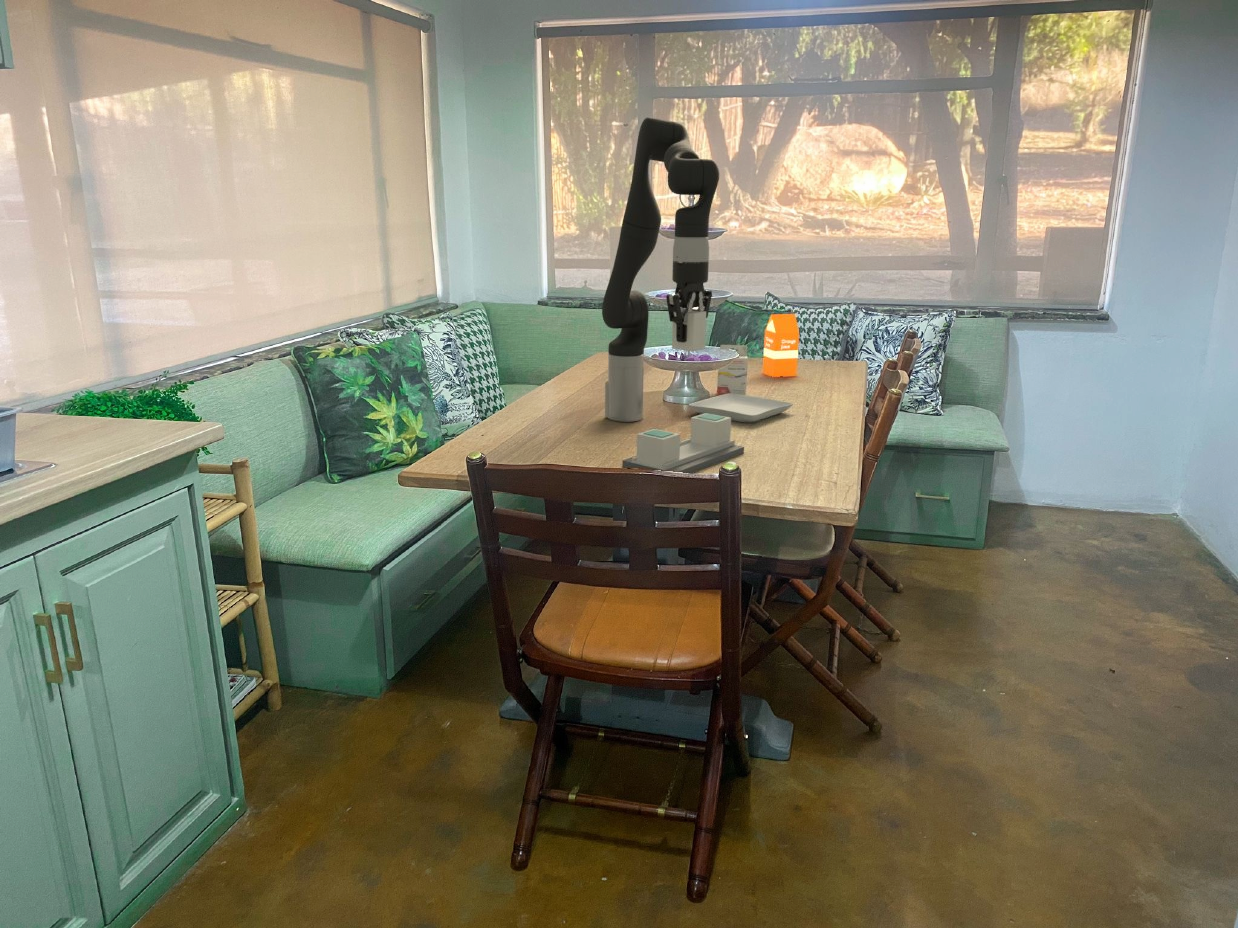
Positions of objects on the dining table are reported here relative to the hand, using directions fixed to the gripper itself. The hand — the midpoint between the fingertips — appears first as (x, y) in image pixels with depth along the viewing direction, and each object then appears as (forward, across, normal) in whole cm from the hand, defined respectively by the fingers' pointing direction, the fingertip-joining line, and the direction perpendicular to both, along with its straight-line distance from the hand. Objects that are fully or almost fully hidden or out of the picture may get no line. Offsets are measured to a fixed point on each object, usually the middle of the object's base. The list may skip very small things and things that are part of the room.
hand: (688, 340), depth 193 cm
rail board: (+27, 0, 0) cm, 27 cm away
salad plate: (+28, -47, -15) cm, 56 cm away
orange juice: (+27, -105, -36) cm, 114 cm away
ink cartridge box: (+27, -66, -30) cm, 77 cm away
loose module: (+2, 0, 0) cm, 2 cm away
